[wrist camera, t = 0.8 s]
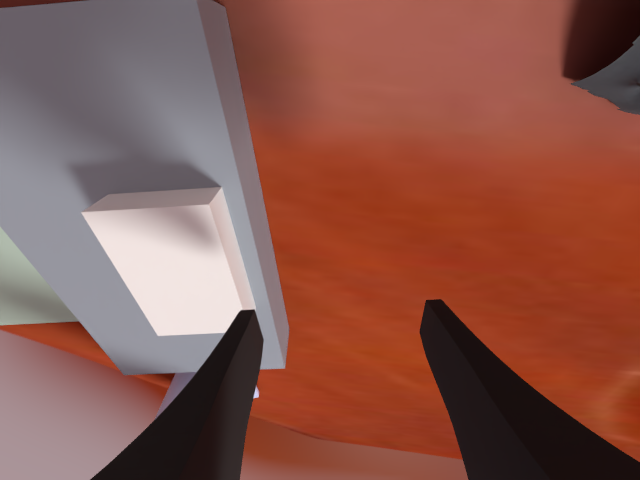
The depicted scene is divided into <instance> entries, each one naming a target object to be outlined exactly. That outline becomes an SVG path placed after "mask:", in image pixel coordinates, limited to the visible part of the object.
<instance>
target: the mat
mask: <svg viewBox="0 0 640 480" xmlns="http://www.w3.org/2000/svg"><path fill="white" fill-rule="evenodd" d="M75 321H79V320H78V319H77V318H76V317H75V316H74V314H73V313H72V312H71V311H70V310H69V308H68V307H67V306H66V305H65V304H64V302H63V301H62V300H61V299H60V298H59V296H58V295H57V294H56V293H55V292H54V290H53V289H52V288H51V287H50V286H49V284H48V283H47V282H46V281H45V280H44V278H43V277H42V276H41V275H40V274H39V272H38V271H37V270H36V269H35V268H34V266H33V265H32V264H31V263H30V262H29V260H28V259H27V258H26V257H25V256H24V254H23V253H22V252H21V251H20V250H19V248H18V247H17V246H16V245H15V244H14V243H13V241H12V240H11V239H10V238H9V237H8V235H7V234H6V233H5V232H4V231H3V229H2V228H1V227H0V325H14V324H34V323H55V322H75Z"/></svg>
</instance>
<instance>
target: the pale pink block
mask: <svg viewBox="0 0 640 480" xmlns="http://www.w3.org/2000/svg"><path fill="white" fill-rule="evenodd" d="M81 213H82V215H83V216H84V218H85V220H86V221H87V223H88V225H89V226H90V228H91V229H92V231H93V233H94V234H95V236H96V237H97V239H98V241H99V242H100V244H101V245H102V247H103V249H104V250H105V252H106V253H107V255H108V257H109V258H110V260H111V261H112V263H113V265H114V266H115V268H116V269H117V271H118V273H119V274H120V276H121V278H122V279H123V281H124V282H125V284H126V286H127V287H128V289H129V290H130V292H131V294H132V295H133V297H134V298H135V300H136V302H137V303H138V305H139V306H140V308H141V310H142V311H143V313H144V314H145V316H146V318H147V319H148V321H149V323H150V324H151V326H152V327H153V329H154V331H155V332H156V334H157V335H158V336H168V335H190V334H211V333H225V332H226V331H227V329H228V328H229V326H230V325H231V323H232V322H233V320H234V319H235V317H236V316H237V314H238V312H239V311H240V310H252V309H255V310H256V306H255V302H254V299H253V295H252V292H251V288H250V285H249V281H248V278H247V274H246V270H245V267H244V263H243V260H242V256H241V253H240V249H239V246H238V242H237V239H236V235H235V232H234V228H233V225H232V221H231V217H230V214H229V210H228V207H227V203H226V200H225V196H224V193H223V189H222V187H213V188H197V189H182V190H166V191H151V192H135V193H120V194H108V195H107V196H105V197H103V198H102V199H100V200H99V201H97V202H96V203H94V204H93V205H91V206H90V207H88V208H87V209H85V210H84V211H82V212H81Z"/></svg>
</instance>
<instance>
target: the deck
mask: <svg viewBox="0 0 640 480" xmlns="http://www.w3.org/2000/svg"><path fill="white" fill-rule="evenodd" d="M213 187H222V189H223V193H224V196H225V200H226V203H227V207H228V210H229V214H230V217H231V221H232V225H233V228H234V232H235V235H236V239H237V242H238V246H239V249H240V253H241V256H242V260H243V263H244V267H245V270H246V274H247V278H248V281H249V285H250V288H251V292H252V295H253V299H254V302H255V306H256V310H255V312H256V315H257V319H258V322H259V325H260V329H261V332H262V335H263V339H264V342H263V352H262V360H261V366H260V369H280V368H285V364H286V354H287V345H288V336H289V326H288V321H287V316H286V311H285V306H284V300H283V295H282V290H281V285H280V280H279V275H278V270H277V265H276V260H275V255H274V250H273V245H272V240H271V235H270V230H269V225H268V220H267V215H266V210H265V205H264V200H263V194H262V189H261V184H260V179H259V174H258V169H257V164H256V159H255V154H254V149H253V144H252V139H251V134H250V129H249V124H248V119H247V114H246V109H245V104H244V99H243V94H242V88H241V83H240V78H239V73H238V68H237V63H236V58H235V53H234V48H233V43H232V38H231V33H230V28H229V23H228V18H227V13H226V8H225V7H224V6H222V5H220V4H218V3H216V2H215V1H213V0H86V1H75V2H64V3H52V4H41V5H30V6H18V7H7V8H0V227H1V228H2V229H3V231H4V232H5V233H6V234H7V235H8V237H9V238H10V239H11V240H12V241H13V243H14V244H15V245H16V246H17V247H18V248H19V250H20V251H21V252H22V253H23V254H24V256H25V257H26V258H27V259H28V260H29V262H30V263H31V264H32V265H33V266H34V268H35V269H36V270H37V271H38V272H39V274H40V275H41V276H42V277H43V278H44V280H45V281H46V282H47V283H48V284H49V286H50V287H51V288H52V289H53V290H54V292H55V293H56V294H57V295H58V296H59V298H60V299H61V300H62V301H63V302H64V304H65V305H66V306H67V307H68V308H69V310H70V311H71V312H72V313H73V314H74V316H75V317H76V318H77V319H78V320H79V322H80V323H81V324H82V325H83V326H84V328H85V329H86V330H87V331H88V332H89V334H90V335H91V336H92V337H93V338H94V340H95V341H96V342H97V343H98V344H99V346H100V347H101V348H102V349H103V350H104V352H105V353H106V354H107V355H108V356H109V358H110V359H111V360H112V361H113V362H114V364H115V365H116V366H117V367H118V368H119V369H120V371H121V372H122V373H123V374H124V375H137V374H161V373H185V372H197V371H198V370H199V368H200V367H201V366H202V365H203V363H204V362H205V361H206V359H207V358H208V357H209V355H210V354H211V353H212V351H213V350H214V348H215V347H216V346H217V344H218V343H219V341H220V340H221V338H222V337H223V335H224V334H225V333H211V334H190V335H168V336H158V335H157V334H156V332H155V331H154V329H153V327H152V326H151V324H150V323H149V321H148V319H147V318H146V316H145V314H144V313H143V311H142V310H141V308H140V306H139V305H138V303H137V302H136V300H135V298H134V297H133V295H132V294H131V292H130V290H129V289H128V287H127V286H126V284H125V282H124V281H123V279H122V278H121V276H120V274H119V273H118V271H117V269H116V268H115V266H114V265H113V263H112V261H111V260H110V258H109V257H108V255H107V253H106V252H105V250H104V249H103V247H102V245H101V244H100V242H99V241H98V239H97V237H96V236H95V234H94V233H93V231H92V229H91V228H90V226H89V225H88V223H87V221H86V220H85V218H84V216H83V215H82V213H81V212H82V211H84V210H85V209H87V208H88V207H90V206H91V205H93V204H94V203H96V202H97V201H99V200H100V199H102V198H103V197H105V196H107V195H108V194H120V193H135V192H151V191H166V190H182V189H197V188H213Z"/></svg>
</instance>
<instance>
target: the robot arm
mask: <svg viewBox="0 0 640 480" xmlns="http://www.w3.org/2000/svg"><path fill="white" fill-rule="evenodd" d="M420 335H421V339H422V343H423V347H424V350H425V354H426V357H427V360H428V362H429V365H430V368H431V370H432V373H433V375H434V378H435V380H436V383H437V385H438V388H439V390H440V393H441V395H442V398H443V400H444V403H445V405H446V408H447V410H448V413H449V416H450V419H451V421H452V424H453V428H454V431H455V434H456V438H457V441H458V444H459V448H460V451H461V454H462V458H463V461H464V465H465V468H466V472H467V476H468V479H469V480H640V462H638V461H637V460H635V459H634V458H632V457H630V456H629V455H627V454H625V453H624V452H622V451H621V450H619V449H618V448H616V447H615V446H613V445H612V444H610V443H609V442H607V441H606V440H604V439H603V438H601V437H600V436H598V435H597V434H595V433H594V432H592V431H591V430H589V429H588V428H586V427H585V426H584V425H582V424H581V423H579V422H578V421H577V420H575V419H574V418H572V417H571V416H570V415H568V414H567V413H566V412H564V411H563V410H561V409H560V408H559V407H557V406H556V405H555V404H553V403H552V402H550V401H549V400H548V399H547V398H545V397H544V396H543V395H541V394H540V393H539V392H538V391H536V390H535V389H534V388H533V387H531V386H530V385H529V384H528V383H527V382H525V381H524V380H523V379H522V378H521V377H519V376H518V375H517V374H516V373H515V372H514V371H512V370H511V369H510V368H509V367H508V366H507V365H506V364H505V363H503V362H502V361H501V360H500V359H499V358H498V357H497V356H496V355H495V354H494V353H493V352H492V351H491V350H489V349H488V348H487V347H486V346H485V345H484V344H483V343H482V342H481V341H480V340H479V339H478V338H477V337H476V336H475V335H474V334H473V333H472V332H471V331H470V330H469V329H468V328H467V327H466V325H465V324H464V323H463V322H462V321H461V320H460V319H459V318H458V317H457V316H456V315H455V314H454V313H453V312H452V310H451V309H450V308H449V307H448V306H447V305H446V304H445V303H444V302H443V301H442V300H441V299H438V300H426V303H425V307H424V312H423V317H422V322H421V327H420ZM263 342H264V339H263V335H262V332H261V329H260V325H259V322H258V319H257V315H256V312H255V309H252V310H240V311H239V312H238V314H237V316H236V317H235V319H234V320H233V322H232V323H231V325H230V326H229V328H228V329H227V331H226V332H225V334H224V335H223V337H222V338H221V340H220V341H219V343H218V344H217V346H216V347H215V348H214V350H213V351H212V353H211V354H210V355H209V357H208V358H207V359H206V361H205V362H204V363H203V365H202V366H201V367H200V368H199V370H198V371H197V372H185V373H175V375H174V378H173V380H172V382H171V384H170V387H169V389H168V391H167V393H166V396H165V398H164V400H163V402H162V405H161V407H160V409H159V411H158V413H157V415H156V418H155V420H154V421H153V422H152V423H151V424H150V425H149V426H148V427H147V428H146V429H145V430H144V431H143V432H142V433H141V434H140V435H139V436H138V437H137V438H136V439H135V440H134V441H133V442H132V443H131V444H129V445H128V446H127V447H126V448H125V449H124V450H123V451H122V452H121V453H120V454H119V455H118V456H117V457H116V458H115V459H114V460H113V461H111V462H110V463H109V464H108V465H107V466H106V467H105V468H103V469H102V470H101V471H100V472H99V473H98V474H96V475H95V476H94V477H93V478H92V479H91V480H240V473H241V465H242V457H243V449H244V442H245V436H246V429H247V424H248V419H249V415H250V410H251V406H252V402H253V398H257V397H258V396H259V391H258V388H257V386H256V384H257V380H258V375H259V371H260V366H261V360H262V352H263Z"/></svg>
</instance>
